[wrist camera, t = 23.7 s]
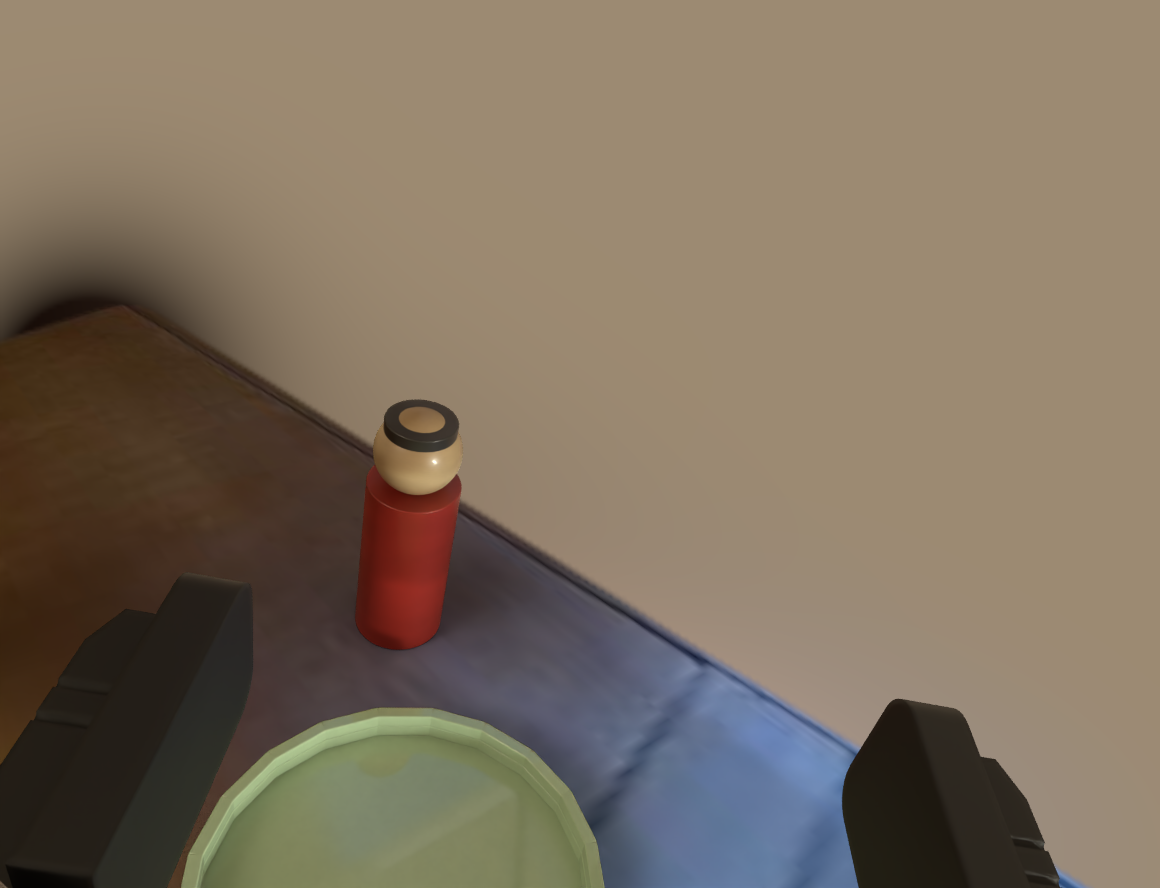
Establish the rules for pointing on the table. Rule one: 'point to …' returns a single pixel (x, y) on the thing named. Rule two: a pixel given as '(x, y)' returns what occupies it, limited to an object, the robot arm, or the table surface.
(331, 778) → the green round plate
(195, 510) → the table surface
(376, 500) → the doll
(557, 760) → the table surface
